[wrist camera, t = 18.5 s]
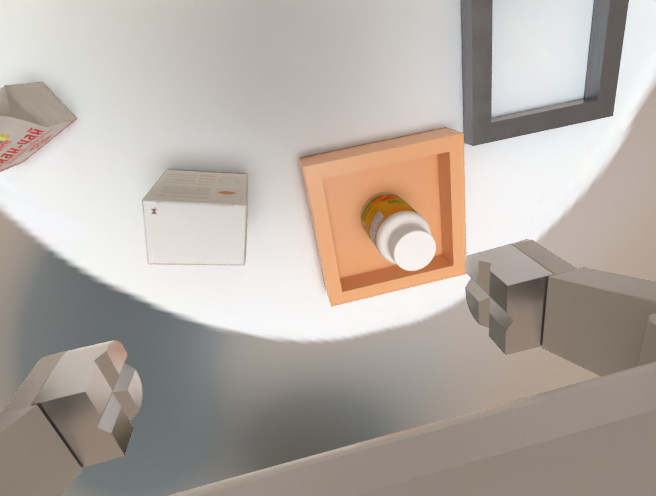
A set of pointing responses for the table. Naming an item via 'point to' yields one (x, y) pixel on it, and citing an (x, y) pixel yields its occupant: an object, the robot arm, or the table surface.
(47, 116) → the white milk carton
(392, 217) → the supplement bottle
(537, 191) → the table surface
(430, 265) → the tray
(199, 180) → the small box
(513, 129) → the dark grey square frame
